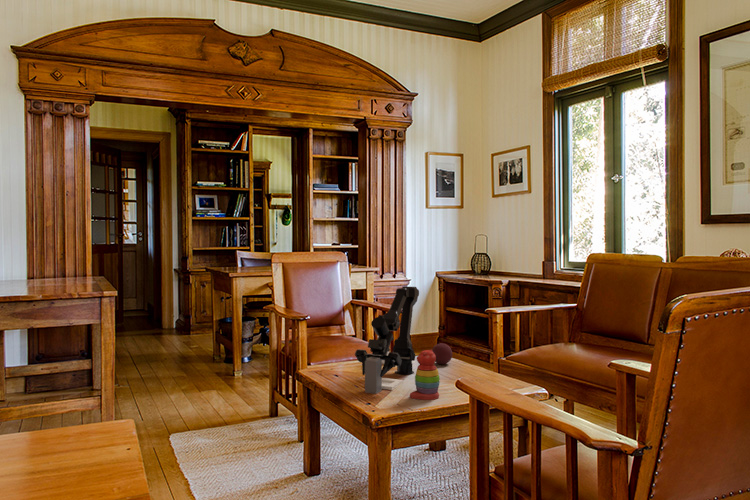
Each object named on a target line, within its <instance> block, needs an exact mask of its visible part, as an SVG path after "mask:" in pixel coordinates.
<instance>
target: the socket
mask: <svg viewBox="0 0 750 500" xmlns="http://www.w3.org/2000/svg"><path fill="white" fill-rule="evenodd" d="M403 384H404V379H396V378H389V377H382V390H389V391H393V390H394V389H397V387H400V386H401V385H403Z"/></svg>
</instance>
